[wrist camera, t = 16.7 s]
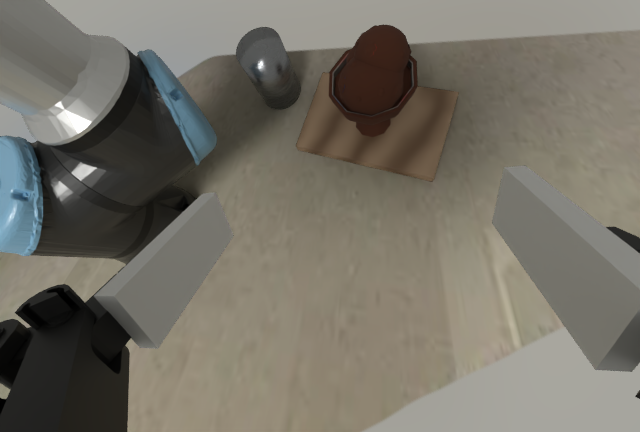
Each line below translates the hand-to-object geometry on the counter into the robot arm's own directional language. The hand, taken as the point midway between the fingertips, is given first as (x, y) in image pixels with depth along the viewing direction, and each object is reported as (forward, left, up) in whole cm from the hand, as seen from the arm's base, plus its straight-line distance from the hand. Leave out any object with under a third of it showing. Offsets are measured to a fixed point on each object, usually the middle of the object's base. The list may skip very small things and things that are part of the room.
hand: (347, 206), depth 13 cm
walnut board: (-5, +20, -28) cm, 34 cm away
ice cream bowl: (-5, +20, -26) cm, 33 cm away
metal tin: (-23, +23, -28) cm, 43 cm away
